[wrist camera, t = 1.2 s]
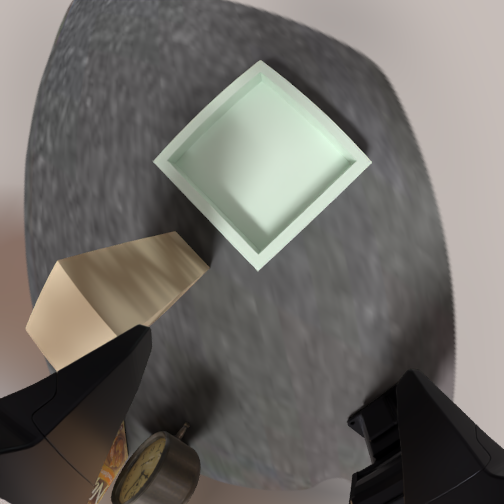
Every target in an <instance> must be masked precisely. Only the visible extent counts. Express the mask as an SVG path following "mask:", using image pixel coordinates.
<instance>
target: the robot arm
mask: <svg viewBox="0 0 504 504" xmlns="http://www.w3.org/2000/svg"><path fill="white" fill-rule="evenodd" d="M151 349H152V336H151V328H150V327H148V326H145V325H141V324H138V325H136V326H134V327H132V328H131V329H129V330H127V331H126V332H124V333H122V334H120V335H119V336H117V337H115V338H114V339H112V340H110V341H108V342H107V343H105V344H103V345H102V346H100V347H98V348H96V349H95V350H93V351H91V352H90V353H88V354H86V355H84V356H83V357H81V358H79V359H77V360H76V361H74V362H72V363H71V364H69V365H67V366H65V367H64V368H62V369H60V370H58V372H55V373H53V374H51V375H50V376H48V377H46V378H44V379H42V380H40V381H39V382H37V383H35V384H33V385H31V386H29V387H26V388H24V389H22V390H19V391H17V392H15V393H12V394H10V395H8V396H5V397H3V398H0V504H87V503H88V501H89V498H90V496H91V493H92V491H93V489H94V486H95V483H96V481H97V479H98V476H99V474H100V472H101V469H102V467H103V464H104V462H105V460H106V458H107V455H108V453H109V451H110V449H111V446H112V444H113V442H114V440H115V437H116V435H117V433H118V431H119V429H120V426H121V424H122V422H123V420H124V418H125V416H126V413H127V411H128V409H129V407H130V405H131V403H132V401H133V399H134V397H135V394H136V392H137V390H138V387H139V385H140V382H141V379H142V376H143V373H144V370H145V367H146V364H147V361H148V358H149V356H150V353H151ZM347 423H348V426H349V427H351V428H352V429H353V430H355V431H356V432H357V433H358V434H360V435H361V436H362V437H364V438H365V441H366V444H367V448H368V451H369V455H370V458H371V462H372V464H371V465H370V466H368V467H366V468H365V469H363V470H361V471H359V472H356V473H354V474H353V475H352V484H351V492H350V500H349V504H504V449H503V448H502V447H501V446H499V445H498V444H497V443H496V442H495V441H494V440H492V439H491V438H490V437H489V436H488V435H487V434H486V433H485V432H484V431H482V430H481V429H480V428H479V427H478V426H477V425H476V424H475V423H474V422H473V421H472V420H471V419H470V418H469V417H468V416H467V415H466V414H465V413H464V412H463V411H462V410H461V409H460V408H459V407H458V406H457V405H456V404H454V403H453V402H452V401H451V400H450V399H449V398H448V397H447V396H446V395H445V394H444V393H443V392H442V391H441V390H440V389H439V388H438V387H437V386H436V385H434V384H433V383H432V382H431V381H430V380H429V379H428V378H427V377H426V376H425V375H424V374H423V373H422V372H421V371H419V370H418V369H409V370H407V371H406V373H405V374H404V375H403V377H402V378H401V379H400V381H399V382H398V384H397V385H395V386H394V387H392V388H391V389H390V390H389V391H387V392H386V393H385V394H383V395H382V396H381V397H379V398H378V399H377V400H375V401H374V402H373V403H371V404H370V405H369V406H367V407H366V408H364V409H363V410H361V411H360V412H358V413H357V414H356V415H354V416H353V417H351V418H350V419H348V421H347Z"/></svg>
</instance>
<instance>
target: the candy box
mask: <svg viewBox="0 0 504 504" xmlns="http://www.w3.org/2000/svg"><path fill="white" fill-rule="evenodd" d="M127 458H128V452H127V444H126V436H125V428H124V420H123V422H122V424H121V426H120V429H119V431H118V433H117V435H116V437H115V440H114V442H113V444H112V446H111V449H110V451H109V453H108V455H107V458H106V460H105V462H104V464H103V467H102V469H101V472H100V474H99V476H98V479H97V481H96V483H95V486H94V489H93V491H92V493H91V496H90V498H89V501H88V503H87V504H98V503H99V501H100V499H101V498H102V496H103V495H104V494H105V492H106V490H107V489H108V487H109V486H110V484H111V483H112V481H113V480H114V478H115V477H116V475H117V473H118V472H119V470H120V469H121V467H122V466H123V464H124V463H125V461H126V460H127Z"/></svg>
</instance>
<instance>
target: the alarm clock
mask: <svg viewBox="0 0 504 504" xmlns="http://www.w3.org/2000/svg"><path fill="white" fill-rule="evenodd" d="M189 426H190V424H189V423H187V422H185V423H184V426H183V427H182V428H181V429H180V430H179V431H178V433H177V434H176V435H175V436H172V435H171V434H169V433H168V432H166V431H159V432H157V433H155V434H153V435H152V436H150V437H149V438H148V439H147V440H146V441H145V442H144V443H143V444H142V445H141V446H140V447H139V448H138V449H137V450H136V451H135V452H134V454H133V455H132V456H131V457H130V459H129V460H128V461H127V463H126V464H125V466H124V467H123V469H122V471H121V473H120V474H119V476H118V478H117V480H116V482H115V485H114V487H113V491H112V496H111V501H112V504H187V503H188V501H189V499H190V498H191V496H192V494H193V493H194V491H195V488H196V486H197V483H198V480H199V476H200V459H199V456H198V454H197V453H196V451H195V450H194V449H192V448H191V447H189V446H188V445H186V444H185V443H183V442H182V441H181V439H182V437H183V436H184V434H185V431H186V429H187V428H188V427H189Z"/></svg>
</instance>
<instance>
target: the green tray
mask: <svg viewBox="0 0 504 504" xmlns="http://www.w3.org/2000/svg"><path fill="white" fill-rule="evenodd" d="M153 162H154V163H155V164H156V165H157V166H158V167H159V168H160V169H161V170H162V171H163V173H164V174H165V175H166V176H167V177H168V178H169V179H170V180H171V181H172V182H173V183H174V184H175V185H176V186H177V187H178V188H179V189H180V190H181V192H182V193H183V194H184V195H185V196H186V197H187V198H188V199H189V200H190V201H191V202H192V203H193V204H194V205H195V206H196V207H197V208H198V209H199V210H200V211H201V212H202V214H203V215H204V216H205V217H206V218H207V219H208V220H209V221H210V222H211V223H212V224H213V225H214V226H215V227H216V228H217V229H218V230H219V231H220V232H221V233H222V234H223V235H224V236H225V237H226V239H227V240H228V241H229V242H230V243H231V244H232V245H233V246H234V247H235V248H236V249H237V250H238V251H239V252H240V253H241V254H242V255H243V256H244V257H245V258H246V259H247V260H248V261H249V262H250V263H251V264H252V265H253V266H254V268H255V269H256V270H257V271H259V270H260V269H261V268H262V267H263V266H264V265H265V264H266V263H267V262H268V261H269V260H270V259H272V258H273V257H274V256H275V255H276V254H277V253H278V252H279V251H280V250H281V249H282V248H283V247H284V246H285V245H286V244H288V243H289V242H290V241H291V240H292V239H293V238H294V237H295V236H296V235H297V234H298V233H299V232H300V231H301V230H302V229H303V228H305V227H306V226H307V225H308V224H309V223H310V222H311V221H312V220H313V219H314V218H315V217H316V216H317V215H318V214H319V213H320V212H321V211H322V210H323V209H324V208H326V207H327V206H328V205H329V204H330V203H331V202H332V201H333V200H334V199H335V198H336V197H337V196H338V195H339V194H340V193H341V192H342V191H343V190H344V189H345V188H346V187H347V186H348V185H349V184H350V183H351V182H352V181H354V180H355V179H356V178H357V177H358V176H359V175H360V174H361V173H362V172H363V171H364V170H365V169H366V168H367V167H368V166H369V165H370V164H371V163H372V162H371V161H370V160H369V158H368V157H367V156H366V155H365V154H364V153H363V152H362V151H361V150H360V149H359V147H358V146H357V145H356V144H355V143H354V142H353V141H352V140H351V139H350V138H349V137H348V136H347V135H346V134H345V133H344V132H343V131H342V130H341V129H340V128H339V127H338V126H337V125H336V124H335V123H334V122H333V121H332V120H331V119H330V118H329V117H328V116H327V115H326V114H325V113H324V112H323V111H321V110H320V109H319V108H318V107H317V106H316V105H315V104H314V103H313V102H312V101H310V100H309V99H308V98H307V97H306V96H305V95H304V94H302V93H301V92H300V91H299V90H298V89H297V88H295V87H294V86H293V85H292V84H291V83H289V82H288V81H287V80H286V79H285V78H283V77H282V76H281V75H280V74H278V73H277V72H276V71H274V70H273V69H272V68H271V67H269V66H268V65H267V64H265V63H264V62H263V61H261V60H260V61H258V62H257V63H256V64H255V65H253V66H252V67H251V68H250V69H248V70H247V71H246V72H245V73H243V74H242V75H241V76H240V77H239V78H237V79H236V80H235V81H234V82H233V83H232V84H230V85H229V86H228V87H227V88H226V89H225V90H224V91H222V92H221V93H220V94H219V95H218V96H217V97H216V98H215V99H214V100H213V101H211V102H210V103H209V104H208V105H207V106H206V107H205V108H204V109H203V110H202V111H201V112H200V113H199V114H198V115H197V116H196V117H195V118H194V119H193V120H192V121H191V122H190V123H189V124H188V125H187V126H186V127H185V128H184V129H183V130H182V131H181V132H180V133H179V134H178V135H177V136H176V137H175V138H174V139H173V140H172V141H171V142H170V143H169V145H168V146H167V147H166V148H165V149H164V150H163V151H162V152H161V153H160V154H159V156H158V157H157V158H156V159H155V160H154V161H153Z"/></svg>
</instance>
